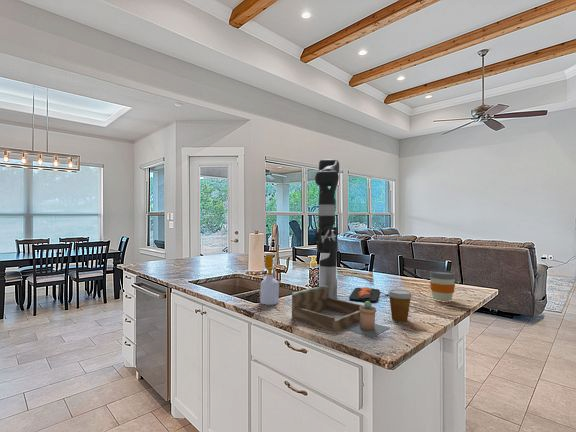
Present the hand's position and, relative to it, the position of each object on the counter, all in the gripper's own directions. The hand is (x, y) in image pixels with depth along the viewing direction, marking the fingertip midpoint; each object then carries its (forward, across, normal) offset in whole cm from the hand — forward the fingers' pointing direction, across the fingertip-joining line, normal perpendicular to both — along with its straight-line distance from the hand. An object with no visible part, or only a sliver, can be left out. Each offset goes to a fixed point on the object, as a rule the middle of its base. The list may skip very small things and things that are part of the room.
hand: (326, 250), depth 146 cm
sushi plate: (+30, -44, +5) cm, 53 cm away
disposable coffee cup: (+29, -13, +29) cm, 43 cm away
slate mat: (+28, +7, +24) cm, 38 cm away
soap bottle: (+29, +8, -30) cm, 42 cm away
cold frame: (+28, +6, +6) cm, 30 cm away
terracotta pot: (+28, +7, +24) cm, 38 cm away
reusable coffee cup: (+30, -61, +32) cm, 75 cm away
